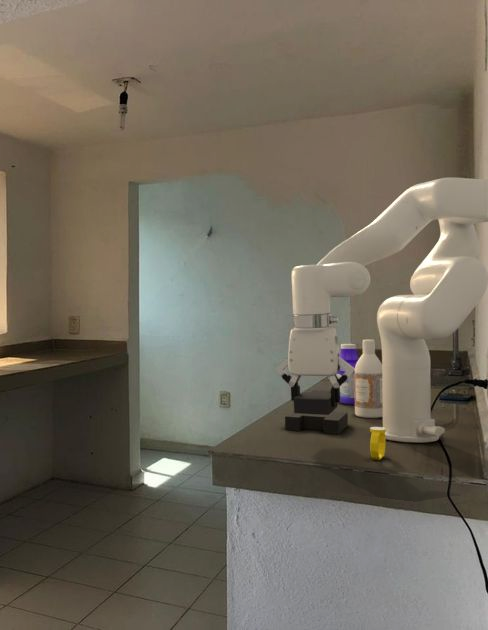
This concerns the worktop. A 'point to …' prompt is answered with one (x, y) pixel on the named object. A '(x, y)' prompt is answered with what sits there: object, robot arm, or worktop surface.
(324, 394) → the tongue pad
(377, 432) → the watch
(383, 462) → the worktop surface
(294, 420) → the notch pad
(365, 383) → the bath foam
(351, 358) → the bottle
